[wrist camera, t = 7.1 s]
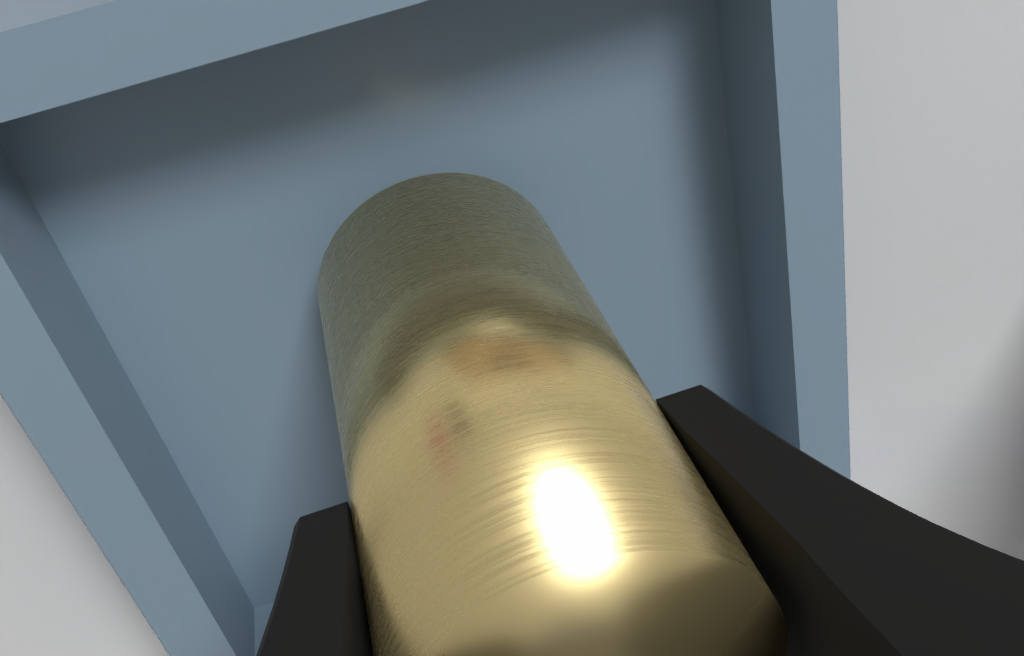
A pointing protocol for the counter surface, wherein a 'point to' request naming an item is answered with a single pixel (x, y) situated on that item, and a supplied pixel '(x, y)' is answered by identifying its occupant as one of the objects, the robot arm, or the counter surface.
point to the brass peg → (514, 448)
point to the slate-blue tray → (343, 188)
